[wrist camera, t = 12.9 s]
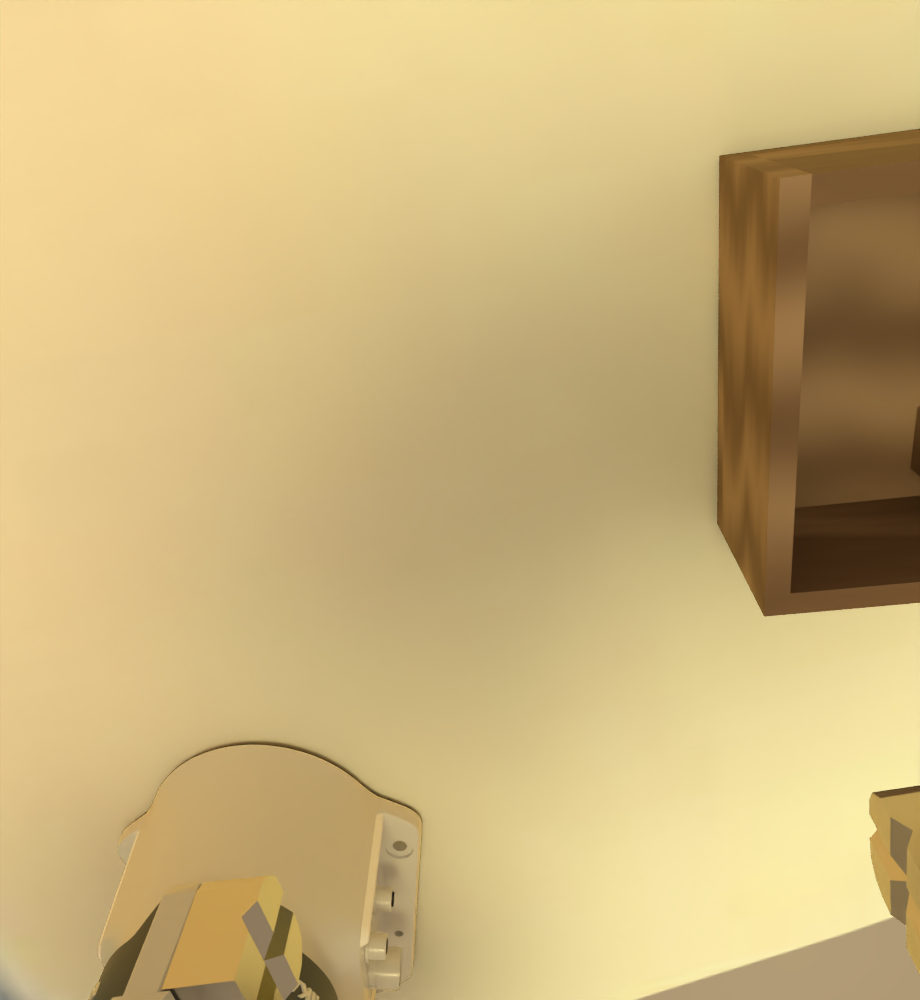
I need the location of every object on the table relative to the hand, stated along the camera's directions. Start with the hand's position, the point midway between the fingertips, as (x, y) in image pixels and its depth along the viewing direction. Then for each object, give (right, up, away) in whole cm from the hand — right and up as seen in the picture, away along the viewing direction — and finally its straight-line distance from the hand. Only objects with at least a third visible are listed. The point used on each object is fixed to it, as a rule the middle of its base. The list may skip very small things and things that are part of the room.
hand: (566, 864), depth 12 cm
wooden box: (+16, +12, +26) cm, 33 cm away
